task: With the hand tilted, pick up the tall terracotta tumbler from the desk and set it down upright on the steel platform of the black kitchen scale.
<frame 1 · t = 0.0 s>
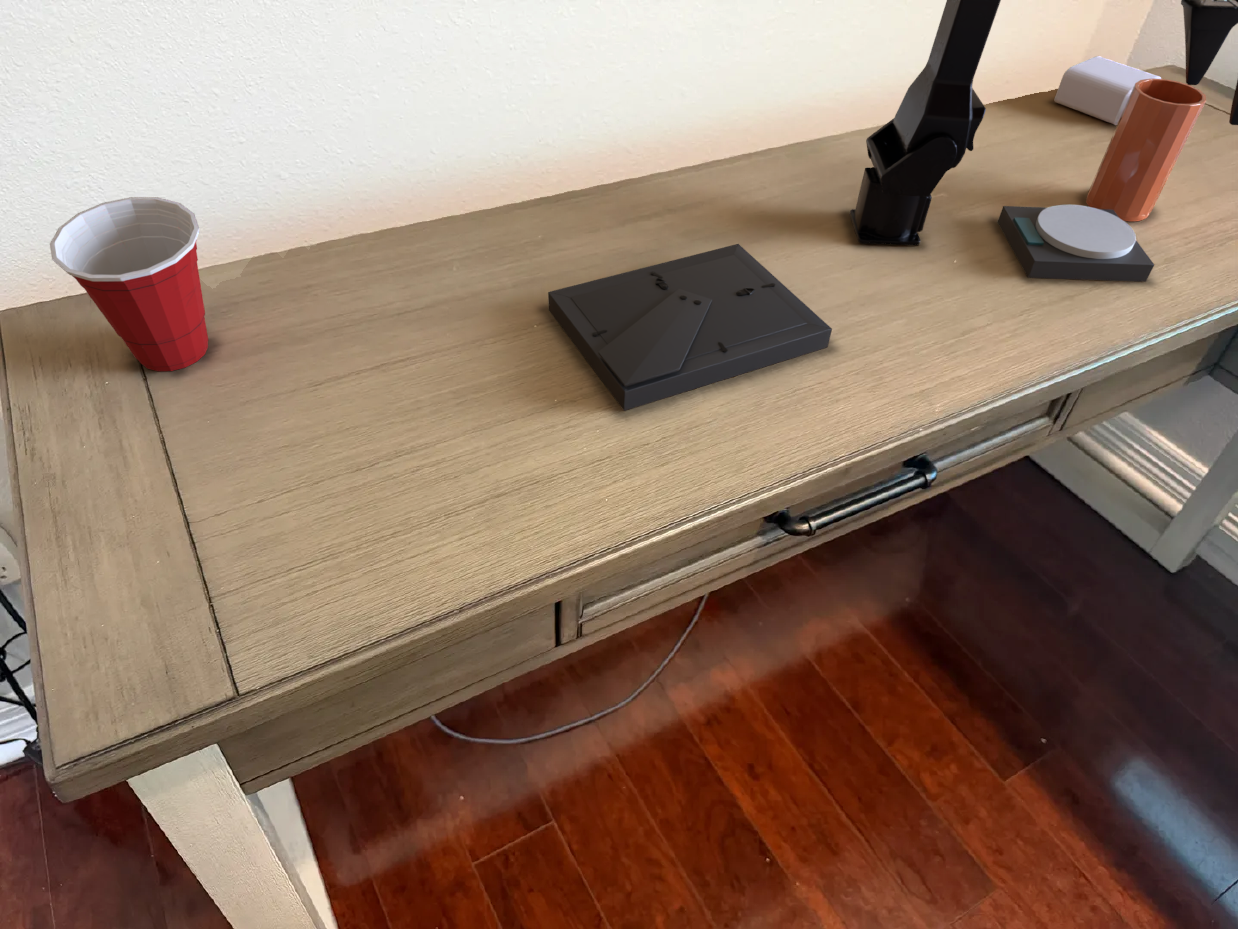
hand: (1212, 103, 86), 15 cm above the table, tool pointing down, fingers open, 9 cm apart
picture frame: (685, 330, 83), on the table
tumbler: (1117, 206, 101), on the table
charger: (1120, 116, 119), on the table
plastic cup: (174, 354, 78), on the table
scale: (1068, 250, 94), on the table
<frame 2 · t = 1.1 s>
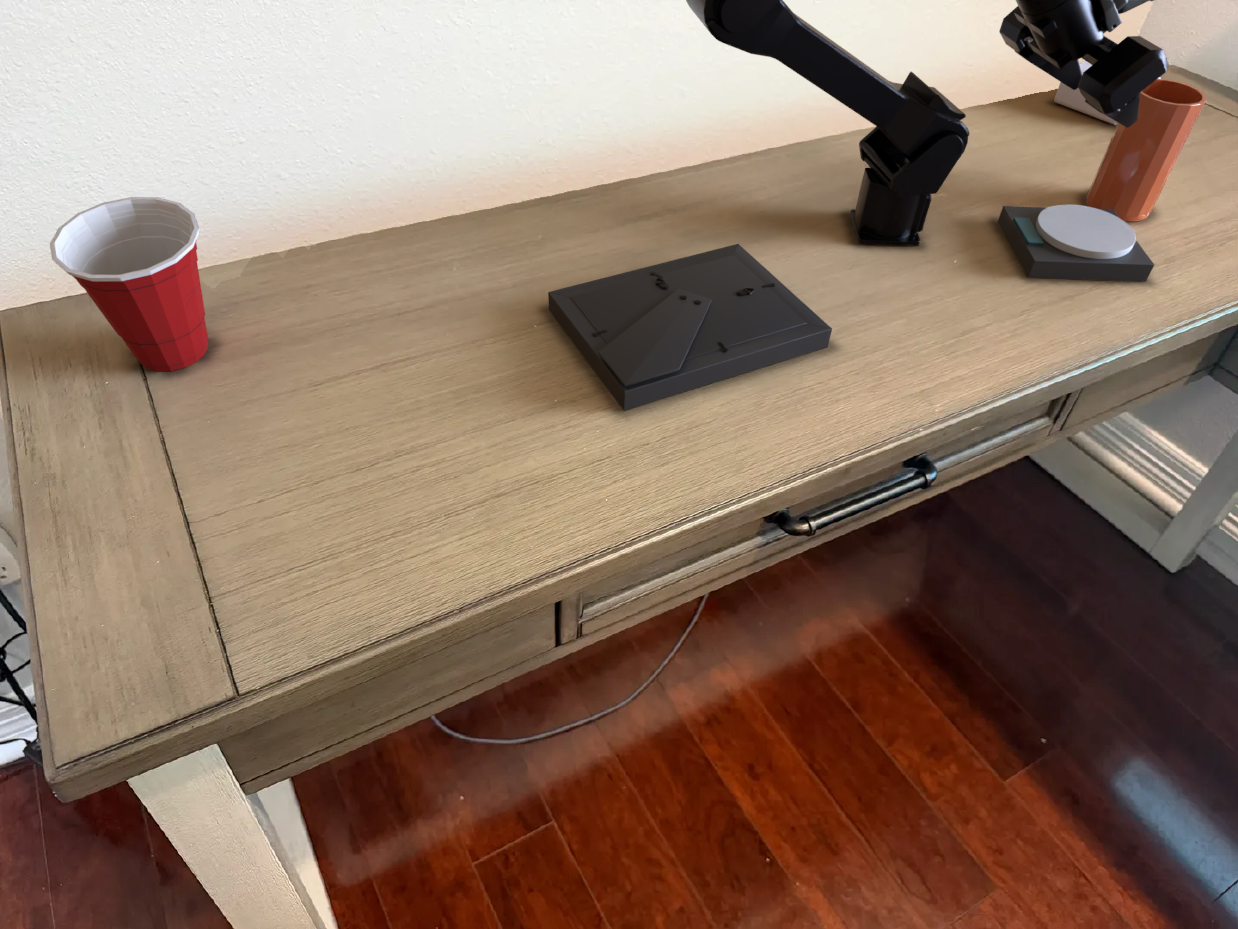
hand: (1104, 104, 91), 12 cm above the table, tool tilted 45°, fingers open, 9 cm apart
nothing on the table moved.
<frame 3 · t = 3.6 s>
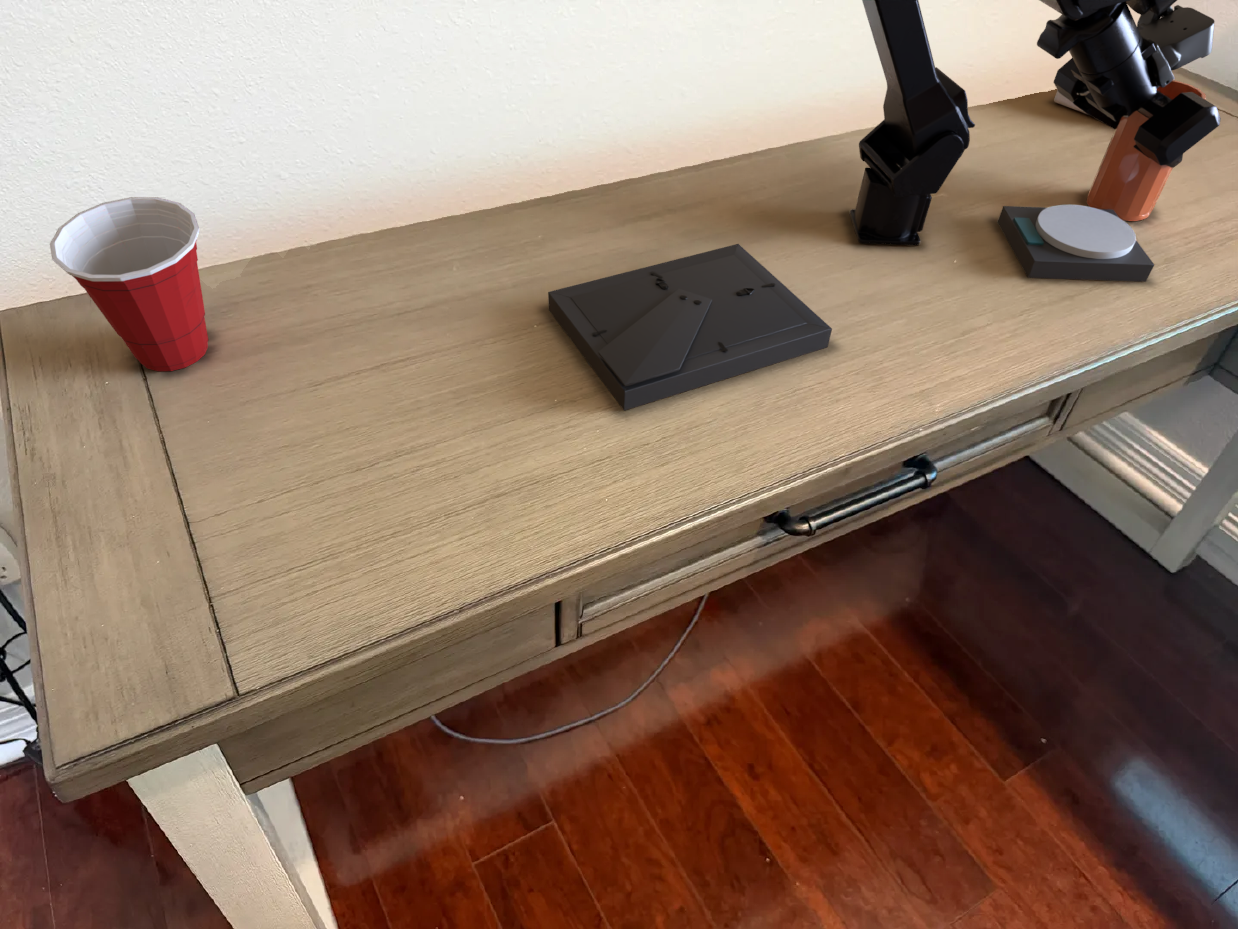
hand: (1154, 148, 97), 7 cm above the table, tool tilted 45°, fingers closed on tumbler, 7 cm apart
tumbler: (1117, 206, 101), on the table, touching gripper
everything else where it was.
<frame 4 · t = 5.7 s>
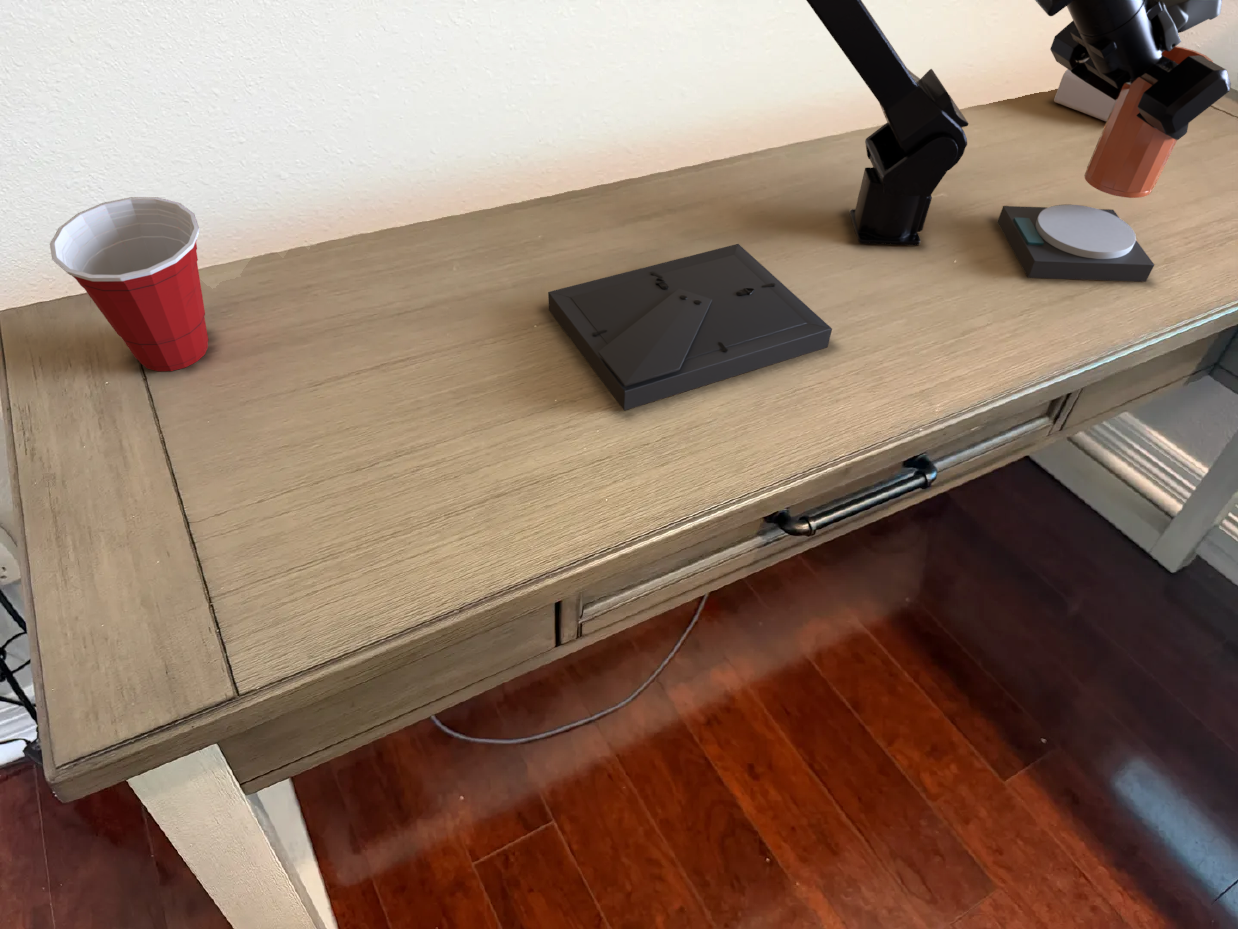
hand: (1157, 120, 91), 11 cm above the table, tool tilted 45°, fingers closed on tumbler, 7 cm apart
tumbler: (1117, 182, 95), point 5 cm above the table, touching gripper
everything else where it was.
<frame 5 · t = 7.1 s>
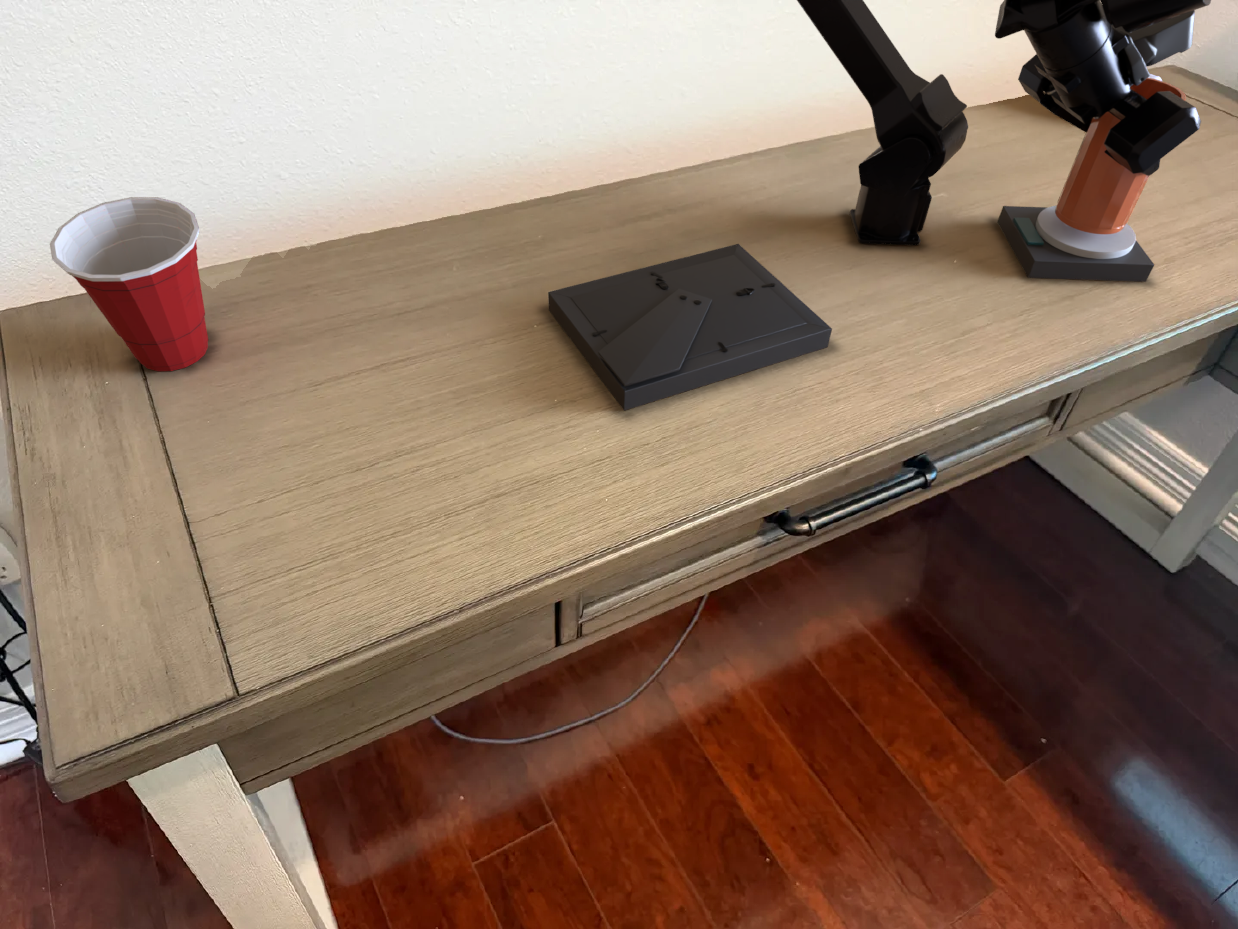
hand: (1129, 154, 87), 11 cm above the table, tool tilted 45°, fingers closed on tumbler, 7 cm apart
tumbler: (1089, 217, 91), point 4 cm above the table, touching gripper
everything else where it was.
when the fingers open (9 cm above the table, at t = 8.0 s): tumbler stays where it is, resting on scale.
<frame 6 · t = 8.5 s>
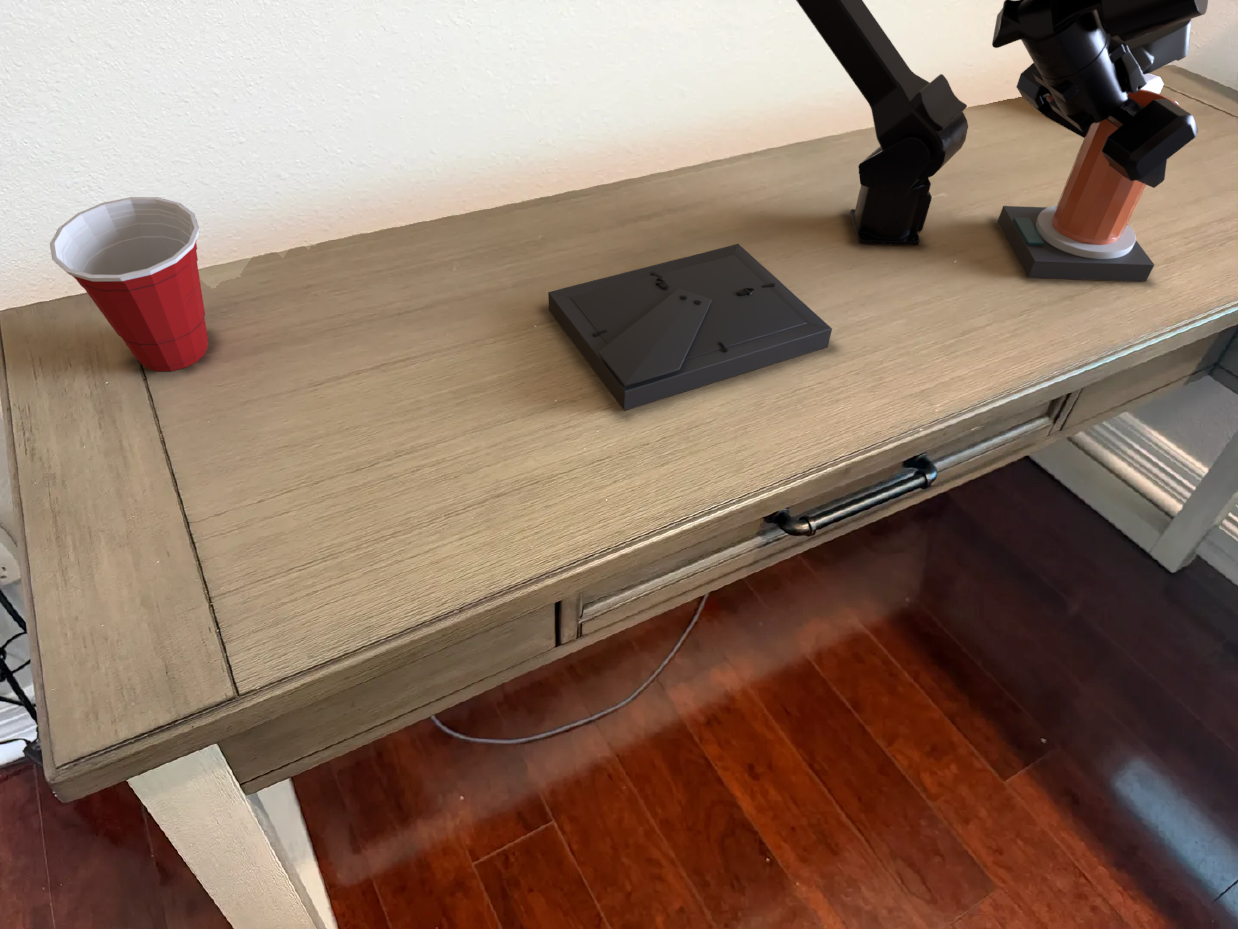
hand: (1128, 161, 87), 10 cm above the table, tool tilted 45°, fingers open, 9 cm apart
tumbler: (1085, 227, 92), point 3 cm above the table, touching scale
everything else where it was.
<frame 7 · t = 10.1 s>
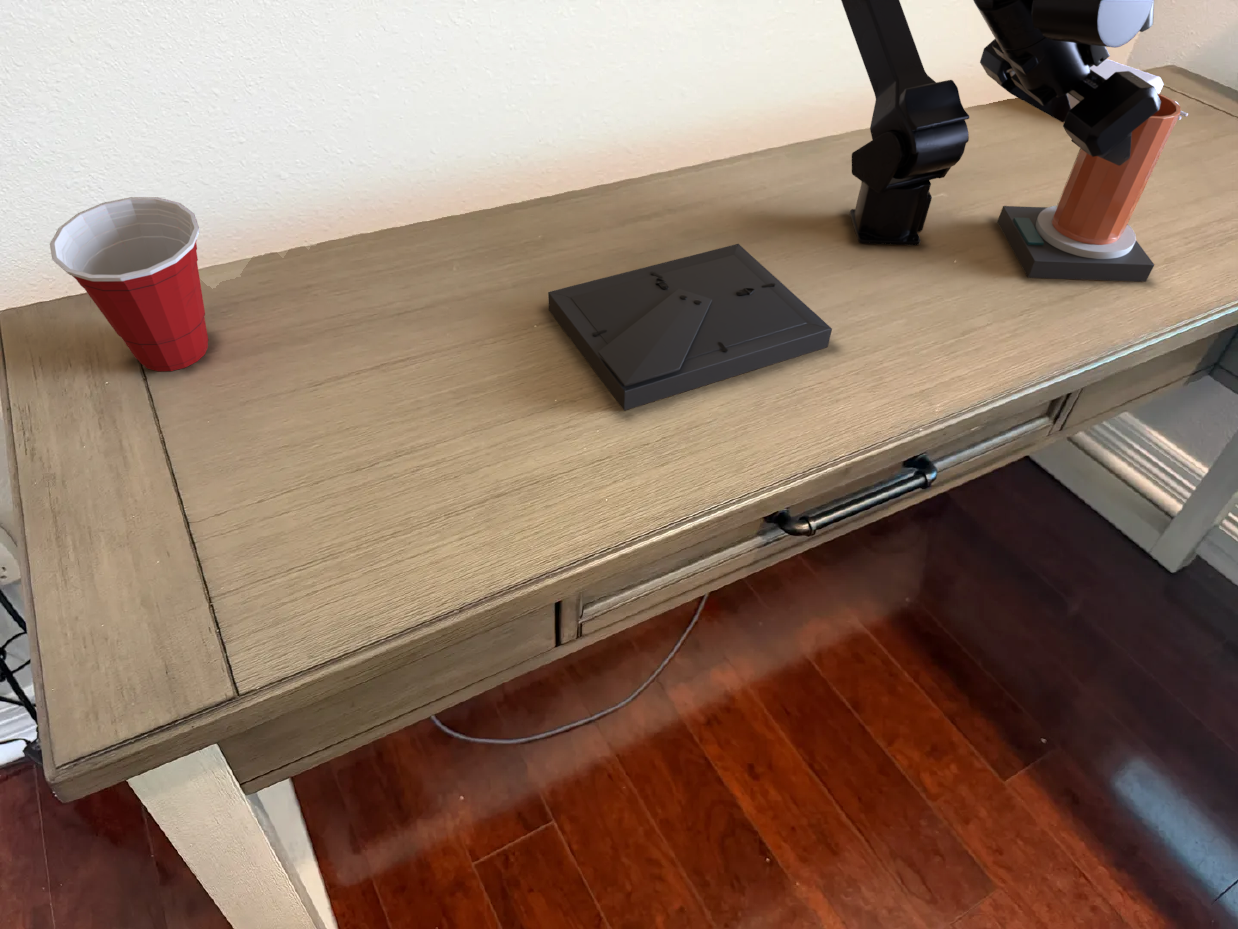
hand: (1094, 138, 84), 13 cm above the table, tool tilted 45°, fingers open, 9 cm apart
nothing on the table moved.
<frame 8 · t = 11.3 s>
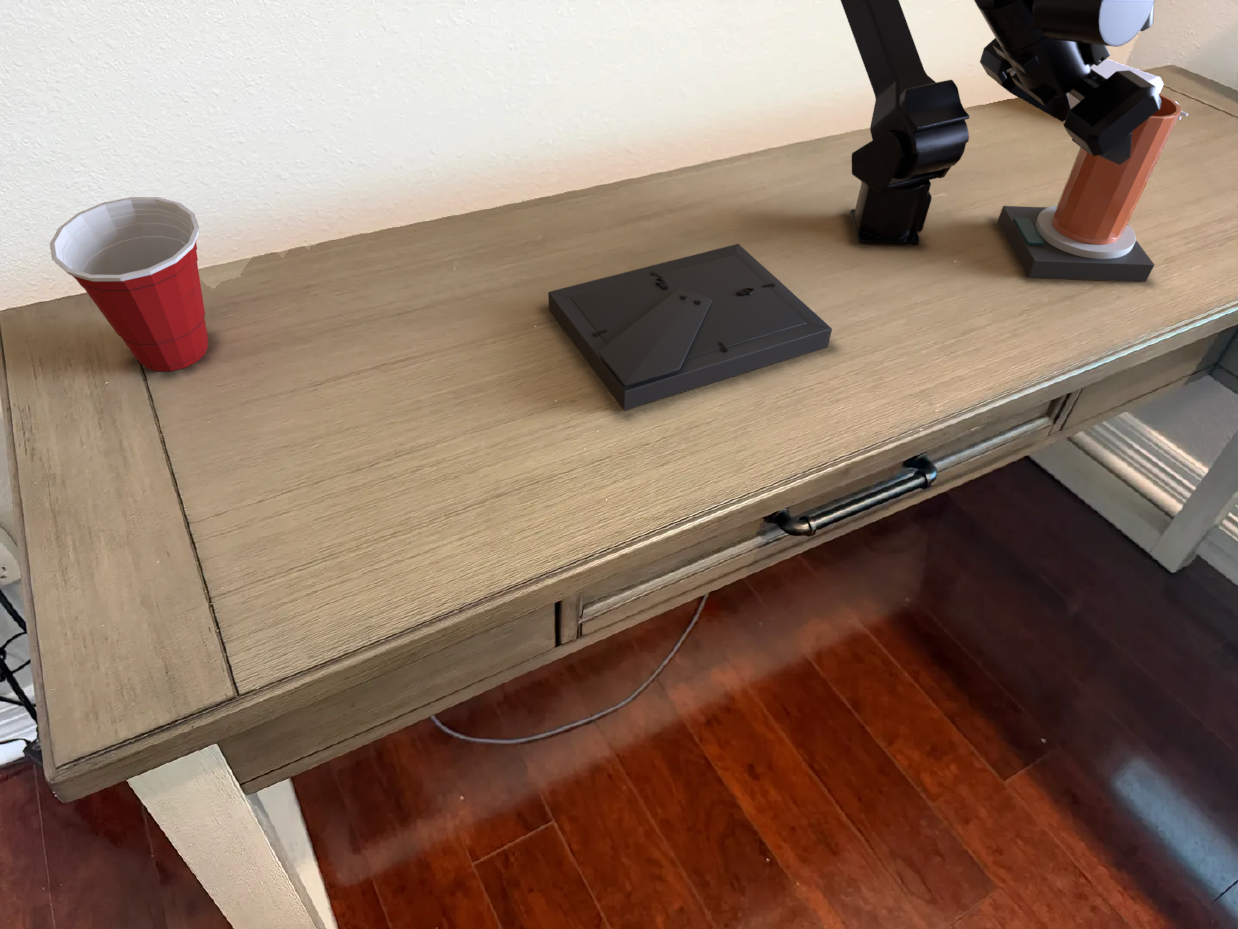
hand: (1094, 138, 85), 13 cm above the table, tool tilted 45°, fingers open, 9 cm apart
nothing on the table moved.
at the end: tumbler inside the target area on the scale (0.1 cm from its centre), point 2.8 cm above the scale's base; tumbler tilted 0°; the gripper is holding nothing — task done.
